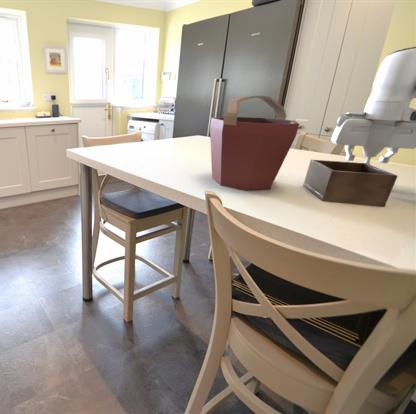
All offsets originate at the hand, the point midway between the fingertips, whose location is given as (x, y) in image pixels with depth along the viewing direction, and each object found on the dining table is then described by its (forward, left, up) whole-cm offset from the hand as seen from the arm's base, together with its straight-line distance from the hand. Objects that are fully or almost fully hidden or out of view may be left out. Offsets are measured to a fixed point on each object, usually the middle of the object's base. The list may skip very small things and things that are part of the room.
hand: (365, 161), depth 84 cm
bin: (+10, +13, -7) cm, 18 cm away
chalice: (0, 0, -8) cm, 8 cm away
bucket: (+35, +8, -8) cm, 37 cm away
